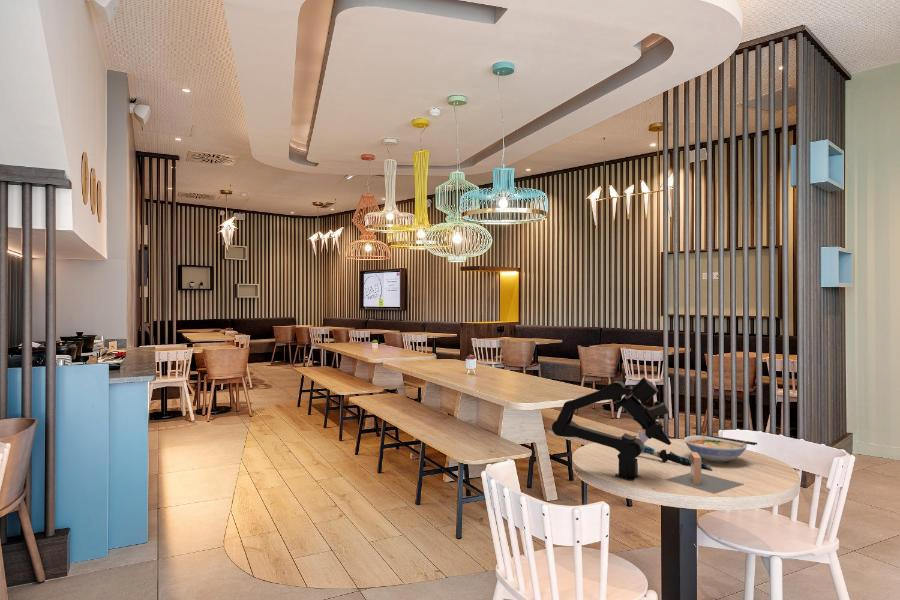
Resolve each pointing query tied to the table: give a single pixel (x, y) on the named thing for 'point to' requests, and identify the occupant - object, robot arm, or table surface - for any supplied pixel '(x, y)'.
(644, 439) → the water lily
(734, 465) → the table surface
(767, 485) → the table surface
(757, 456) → the table surface
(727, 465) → the table surface
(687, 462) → the knife
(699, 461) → the tile
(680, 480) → the mat
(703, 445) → the ramen bowl
